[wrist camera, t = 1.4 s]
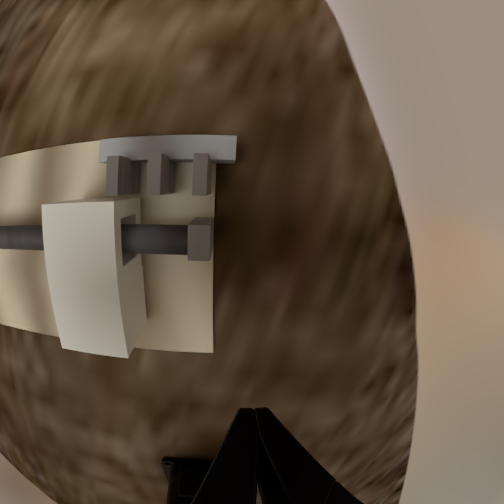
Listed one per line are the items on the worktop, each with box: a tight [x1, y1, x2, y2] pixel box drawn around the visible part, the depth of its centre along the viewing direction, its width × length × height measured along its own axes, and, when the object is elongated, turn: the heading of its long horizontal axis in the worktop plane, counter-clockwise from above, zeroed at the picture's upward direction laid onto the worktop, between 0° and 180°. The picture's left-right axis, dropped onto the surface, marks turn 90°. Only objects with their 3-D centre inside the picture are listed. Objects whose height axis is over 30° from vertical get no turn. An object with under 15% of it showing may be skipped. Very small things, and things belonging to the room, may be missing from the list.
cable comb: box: [0, 135, 237, 353], centre depth 13 cm, size 25×13×4 cm, turn 87°
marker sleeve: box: [41, 197, 147, 358], centre depth 13 cm, size 4×7×4 cm, turn 177°
